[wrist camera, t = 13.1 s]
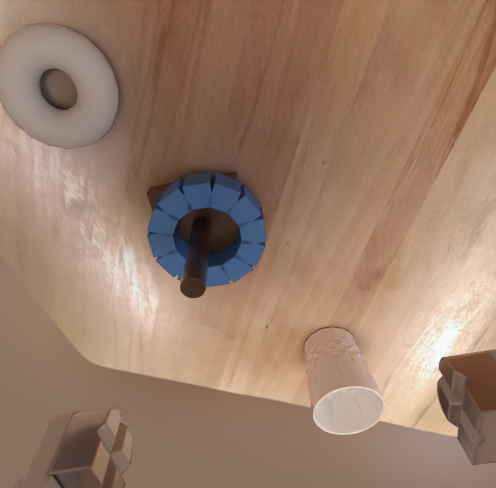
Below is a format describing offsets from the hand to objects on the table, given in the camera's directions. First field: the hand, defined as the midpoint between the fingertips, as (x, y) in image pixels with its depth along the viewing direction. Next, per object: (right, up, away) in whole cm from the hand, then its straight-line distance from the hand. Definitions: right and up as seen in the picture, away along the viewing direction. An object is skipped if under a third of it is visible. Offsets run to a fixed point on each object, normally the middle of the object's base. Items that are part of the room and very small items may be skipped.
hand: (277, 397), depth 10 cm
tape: (-5, +6, +31) cm, 31 cm away
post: (-6, +6, +32) cm, 33 cm away
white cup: (+10, -9, +42) cm, 44 cm away
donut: (-17, +18, +25) cm, 35 cm away
